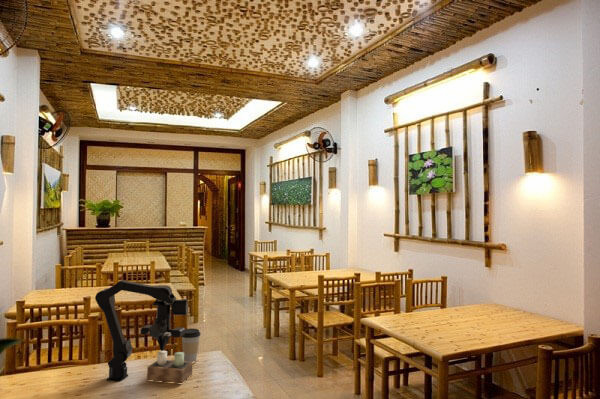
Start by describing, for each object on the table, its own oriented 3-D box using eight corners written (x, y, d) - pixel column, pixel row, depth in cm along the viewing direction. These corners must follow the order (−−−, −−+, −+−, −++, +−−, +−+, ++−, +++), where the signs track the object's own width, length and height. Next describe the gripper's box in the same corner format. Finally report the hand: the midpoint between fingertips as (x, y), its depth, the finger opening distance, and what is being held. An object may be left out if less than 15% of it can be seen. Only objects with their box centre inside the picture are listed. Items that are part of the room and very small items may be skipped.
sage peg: (172, 367, 177) (172, 354, 177) (176, 364, 181) (177, 351, 181) (181, 368, 177) (181, 355, 177) (185, 365, 181) (185, 352, 181)
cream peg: (155, 366, 179) (155, 353, 179) (160, 362, 183) (160, 350, 183) (163, 367, 178) (164, 354, 178) (168, 363, 182) (168, 351, 182)
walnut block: (147, 381, 176) (147, 366, 176) (158, 372, 186) (159, 358, 186) (181, 384, 173) (182, 369, 173) (192, 375, 183) (192, 361, 183)
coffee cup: (203, 361, 201) (204, 330, 201) (189, 367, 193) (190, 334, 193) (190, 357, 206) (191, 326, 206) (175, 362, 198) (176, 331, 198)
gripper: (133, 318, 175) (132, 355, 174) (174, 321, 171) (173, 358, 171) (147, 311, 186) (146, 346, 185) (186, 314, 182) (185, 350, 182)
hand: (162, 350), depth 180 cm, fingers closed
